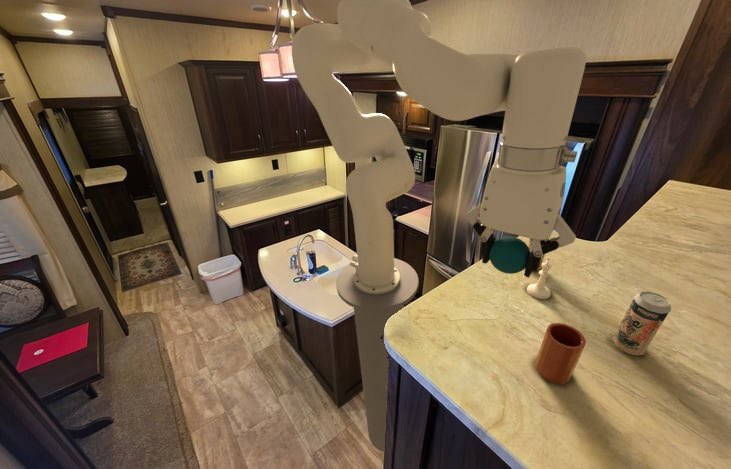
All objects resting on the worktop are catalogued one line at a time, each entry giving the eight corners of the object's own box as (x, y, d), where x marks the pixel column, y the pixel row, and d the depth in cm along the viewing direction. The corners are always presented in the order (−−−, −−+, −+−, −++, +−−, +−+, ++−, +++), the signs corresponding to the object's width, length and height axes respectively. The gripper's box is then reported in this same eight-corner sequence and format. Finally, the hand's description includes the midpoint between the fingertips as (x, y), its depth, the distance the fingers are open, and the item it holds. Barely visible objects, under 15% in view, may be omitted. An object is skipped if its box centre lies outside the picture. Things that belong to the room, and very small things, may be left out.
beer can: (605, 340, 56) (629, 294, 51) (623, 333, 58) (648, 286, 52) (632, 360, 52) (661, 312, 47) (650, 352, 54) (681, 304, 48)
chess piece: (550, 288, 70) (560, 254, 66) (550, 301, 67) (562, 266, 62) (527, 283, 73) (536, 250, 68) (526, 295, 69) (536, 261, 64)
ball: (481, 272, 48) (485, 241, 45) (494, 256, 52) (499, 226, 49) (520, 286, 44) (527, 253, 41) (531, 267, 48) (538, 236, 45)
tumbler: (531, 372, 52) (543, 337, 47) (539, 352, 55) (551, 318, 51) (566, 390, 49) (582, 354, 44) (572, 367, 52) (588, 332, 48)
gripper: (612, 156, 36) (573, 272, 45) (477, 145, 46) (466, 241, 55) (605, 172, 31) (563, 299, 40) (456, 156, 42) (448, 260, 50)
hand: (507, 265), depth 47 cm, fingers closed on ball, 5 cm apart
